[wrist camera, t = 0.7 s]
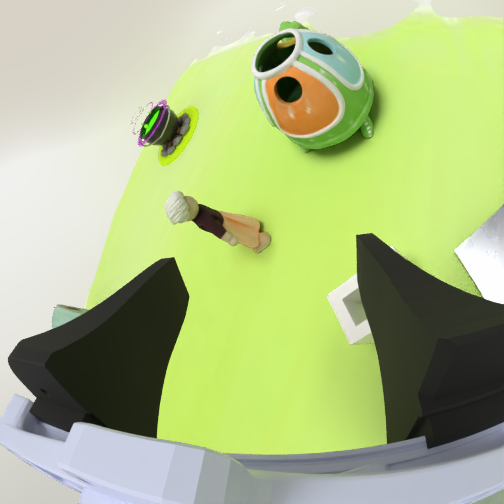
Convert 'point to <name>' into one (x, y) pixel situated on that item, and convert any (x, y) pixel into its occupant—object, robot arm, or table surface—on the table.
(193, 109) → the toy cauldron
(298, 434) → the table surface
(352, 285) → the duct sleeve
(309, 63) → the turtle holder
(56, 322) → the toy snail
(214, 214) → the grandmother figurine
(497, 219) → the duct plate
